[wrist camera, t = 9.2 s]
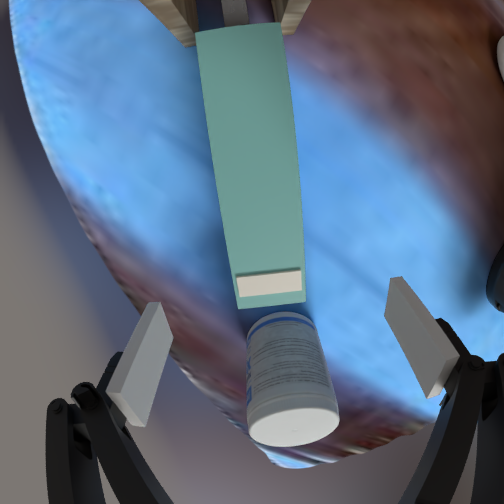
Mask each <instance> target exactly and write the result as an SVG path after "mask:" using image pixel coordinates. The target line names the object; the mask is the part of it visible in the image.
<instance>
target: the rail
mask: <svg viewBox="0 0 504 504" xmlns="http://www.w3.org/2000/svg"><path fill="white" fill-rule="evenodd" d="M221 2H222V9H223V17H224V24H225V27H232V26H240V25H249V18H248V12H247V5H246V0H221Z"/></svg>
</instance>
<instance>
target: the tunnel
mask: <svg viewBox="0 0 504 504" xmlns="http://www.w3.org/2000/svg"><path fill="white" fill-rule="evenodd" d="M139 1H140V2H141V3H142V4H143V5H144V6H145V7H146V8H147V9H149V10H150V11H151V12H152V13H153V14H154V15H155V16H156V17H157V18H158V19H159V20H160V21H161V22H162V24H163V25H164V26H165V27H166V28H167V29H168V30H169V31H170V32H171V33H172V34H173V35H174V36H175V37H176V38H177V39H178V40H179V41H180V42H181V43H182V45H183V46H184V47H185V48H186V47H191V46H195V45H196V37H195V33H196V32H200V31H199V23H198V14H197V6H196V0H139ZM271 2H272V7H273V13H274V18H275V23H276V22H280V24H281V30H282V35H293V34H294V32H295V30H296V28H297V26H298V25H299V23H300V21H301V19H302V17H303V15H304V13H305V11H306V9H307V7H308V5H309V4H310V2H311V0H271Z"/></svg>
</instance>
